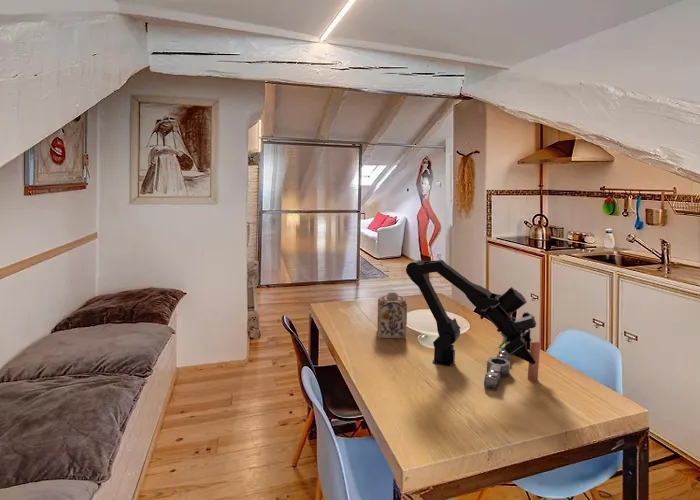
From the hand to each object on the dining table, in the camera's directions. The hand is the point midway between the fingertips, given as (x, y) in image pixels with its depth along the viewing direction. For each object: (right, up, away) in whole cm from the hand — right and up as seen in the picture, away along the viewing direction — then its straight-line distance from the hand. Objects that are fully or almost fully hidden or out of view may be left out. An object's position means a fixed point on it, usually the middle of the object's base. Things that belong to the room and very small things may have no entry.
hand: (535, 358), depth 139 cm
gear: (+1, -4, +26) cm, 27 cm away
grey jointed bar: (-10, -7, +6) cm, 14 cm away
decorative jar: (-43, -1, +44) cm, 62 cm away
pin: (-1, -7, +1) cm, 8 cm away
